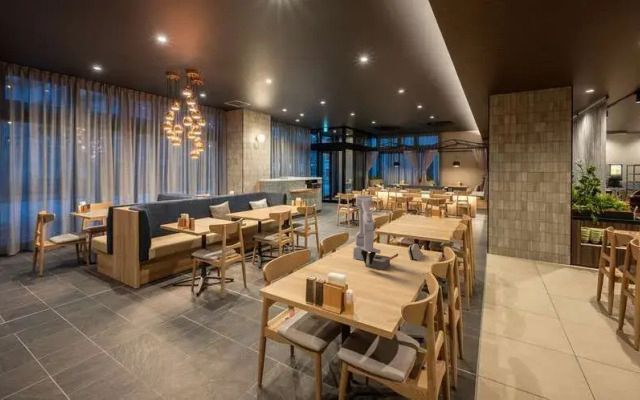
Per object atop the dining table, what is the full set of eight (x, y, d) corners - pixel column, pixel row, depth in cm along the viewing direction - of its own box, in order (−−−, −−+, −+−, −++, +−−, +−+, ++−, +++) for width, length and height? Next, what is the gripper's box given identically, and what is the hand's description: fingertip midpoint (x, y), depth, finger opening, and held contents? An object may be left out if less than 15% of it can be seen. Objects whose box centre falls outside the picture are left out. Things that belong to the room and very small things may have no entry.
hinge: (417, 261, 205) (413, 246, 206) (411, 262, 208) (406, 248, 208) (423, 254, 220) (419, 241, 220) (416, 255, 222) (412, 242, 223)
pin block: (365, 266, 195) (365, 258, 194) (372, 261, 205) (372, 254, 204) (383, 269, 189) (383, 262, 188) (389, 264, 199) (390, 256, 198)
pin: (365, 266, 188) (365, 253, 187) (366, 265, 190) (367, 252, 189) (369, 267, 186) (369, 254, 185) (371, 266, 189) (371, 253, 188)
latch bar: (387, 261, 191) (386, 259, 191) (389, 259, 194) (388, 258, 195) (396, 256, 188) (395, 255, 188) (398, 255, 191) (397, 253, 191)
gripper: (355, 241, 187) (354, 262, 188) (377, 244, 179) (377, 267, 181) (359, 238, 193) (359, 259, 194) (381, 241, 185) (381, 263, 187)
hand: (368, 263), depth 188 cm, fingers closed on pin, 3 cm apart
